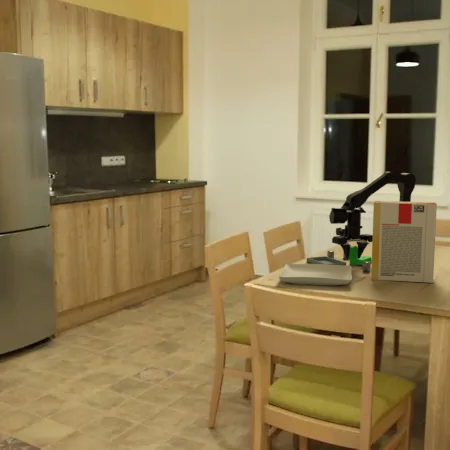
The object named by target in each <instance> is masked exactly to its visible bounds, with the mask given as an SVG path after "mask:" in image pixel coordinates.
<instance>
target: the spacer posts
mask: <svg viewBox="0 0 450 450" xmlns="http://www.w3.org/2000/svg"><path fill="white" fill-rule="evenodd" d="M326 253H327V255H326V256H327V257H330V258H333V259H335V251H334V250H327V252H326ZM342 253H343V254H342V257H343V260H349V258H348V259H346V257H345V254H344V251H343V250H342ZM371 265H372V262H367V261H365V262H363V265H362V272H363V273H371Z"/></svg>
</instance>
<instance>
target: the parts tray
mask: <svg viewBox="0 0 450 450" xmlns="http://www.w3.org/2000/svg"><path fill="white" fill-rule="evenodd" d="M306 263H307V264H327V265H343V266H347V262H345V261H343V260H339V259H336V258H334V259H333V258H330V257H327V255H324V256H311V257H306Z"/></svg>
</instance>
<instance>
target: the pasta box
mask: <svg viewBox="0 0 450 450" xmlns="http://www.w3.org/2000/svg"><path fill="white" fill-rule="evenodd" d="M437 206H438V204H437V203H436V202H434V201H427V202H426V201H411V202H399V201H392V200H387V201H386V200H374V201H373V211H372V213H373V216H372V235H373V240H372V242H371V243H372V245H371V247H372V248H371V260H372V262H371V269H370V274H371V276H370V278H371V279H370V280H379V281H394V282H397V281H398V282H410V283H411V282H413V283H415V282H416V283H429V284H430V283H431V284H432V283H434V271H435V270H434V269H435V252H436V251H435V250H436V227H437V225H436V224H437Z"/></svg>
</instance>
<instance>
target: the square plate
mask: <svg viewBox="0 0 450 450" xmlns="http://www.w3.org/2000/svg"><path fill="white" fill-rule="evenodd" d="M352 270H353V265H346V266H343V265H327V264H311V263H285V265H284V267H283V269H282V271H281V272H280V273H279V275H278V278H279V279H280V280H281V281H282V282H284V283H291V284H294V285H306V284H311V285H313V286H314V285H315V286H341V285H347V284H349V283H350V282H351V281H352V280H353V275H352V273H353V272H352Z"/></svg>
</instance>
